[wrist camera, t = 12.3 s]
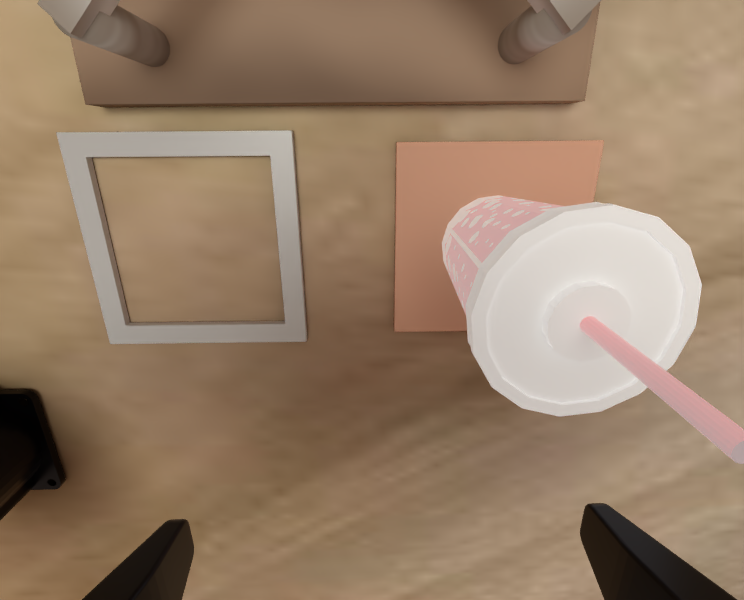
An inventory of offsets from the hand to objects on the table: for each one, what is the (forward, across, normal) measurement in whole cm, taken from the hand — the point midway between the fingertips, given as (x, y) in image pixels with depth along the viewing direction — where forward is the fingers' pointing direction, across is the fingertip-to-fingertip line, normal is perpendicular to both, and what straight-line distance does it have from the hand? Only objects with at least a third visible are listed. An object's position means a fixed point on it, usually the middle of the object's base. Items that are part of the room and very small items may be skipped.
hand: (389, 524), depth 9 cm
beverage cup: (+12, -6, -4) cm, 14 cm away
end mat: (+12, -6, -4) cm, 14 cm away
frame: (+13, +8, -4) cm, 16 cm away
